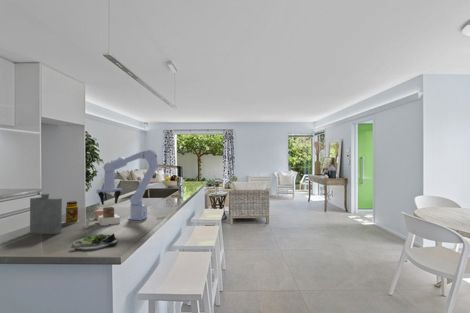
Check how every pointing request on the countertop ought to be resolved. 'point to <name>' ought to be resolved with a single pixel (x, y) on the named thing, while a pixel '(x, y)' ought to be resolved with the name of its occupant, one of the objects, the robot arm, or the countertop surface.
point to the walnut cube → (108, 212)
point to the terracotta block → (98, 213)
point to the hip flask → (45, 215)
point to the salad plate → (95, 242)
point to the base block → (108, 220)
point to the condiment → (71, 212)
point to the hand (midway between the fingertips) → (109, 203)
